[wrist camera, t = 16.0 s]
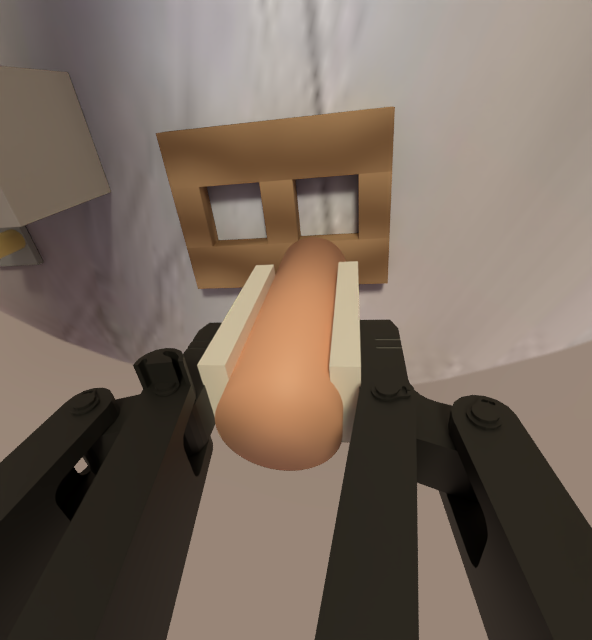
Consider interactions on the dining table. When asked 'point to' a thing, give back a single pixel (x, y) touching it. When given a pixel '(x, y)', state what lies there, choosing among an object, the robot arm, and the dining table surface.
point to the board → (281, 187)
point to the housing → (43, 147)
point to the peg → (288, 368)
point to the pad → (23, 254)
